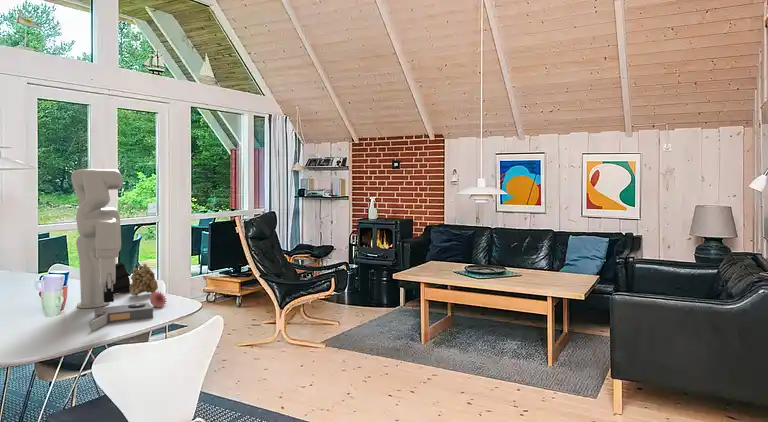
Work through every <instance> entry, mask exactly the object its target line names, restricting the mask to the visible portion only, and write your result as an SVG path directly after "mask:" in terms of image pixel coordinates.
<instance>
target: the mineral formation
mask: <svg viewBox="0 0 768 422" xmlns="http://www.w3.org/2000/svg"><path fill="white" fill-rule="evenodd" d="M155 277H156V276H155V273H154V271H152V269H150V267H149V266H148V265H147V264H146V263H144V264H143V265H138V266H137V267H134V268H133V269H132V274H131V277H130V280H132V282H131V283H130V288H129V289H130V292H129V295H131V296H134V297H136V296H138V295H139V294H142V293H149V294H153V293H152V292H154V293H155V291H156V292H157V291H158V289H159V285H158V281H157V280H156V279H155Z"/></svg>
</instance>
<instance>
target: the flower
mask: <svg viewBox="0 0 768 422" xmlns="http://www.w3.org/2000/svg"><path fill="white" fill-rule="evenodd" d="M152 293H153V294H152ZM152 293H150V295H149V298H150V299H149V301H150V302H149V304H150V305H151V306H152V307H157V308H162V307H165V305H166V304H167V302H168V300H167V298H166V295H165V294H164V293H162V292H161V291H160V292H159V291H157V290H156V291H155V293H154V292H152Z"/></svg>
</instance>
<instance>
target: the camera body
mask: <svg viewBox="0 0 768 422" xmlns="http://www.w3.org/2000/svg"><path fill="white" fill-rule="evenodd" d="M93 310H94V320H95V319H97V318H99V317H101V316H103V315H104V314H107V315H108V324H111V323H113V324H114V323H119V322H121V323H122V322H128V321H136V320H143V319H152V318H154V308H153V305H152V304H151V303H150V302H148V301H147V302H139V303H137V302H136V303H131V304H121V305H112V306H102V307H96V308H93Z"/></svg>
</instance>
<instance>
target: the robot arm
mask: <svg viewBox="0 0 768 422" xmlns="http://www.w3.org/2000/svg"><path fill="white" fill-rule="evenodd" d="M123 179H124V178H123V176H122V174H121V172H120V171H119V170H118V169H116V168H115V169H114V168H81V169H76V170H74V171H73V172H72V173H71V183H72V184H71V185H72V187H73V189H74V192H75V194H76V196H77V199H78V209H77V210H76V217H75V219H76V220H75V221H76V227H77V232H78V235H79V236H78V237H77V238H76V240H75V245H76V246H75V247H76V249H77V250H76V251H77V255H78V262H79V280H80V281H79V284H80V285H79V286H80V287H79V288H80V302H78V303H76V304H77V305H76V307H77V308H79V309H94V308H102V307H107V306H108V305H109V304H110V303H114V301H115V299H114V298H115V297H114V296H115V294H114V291H113V284H115V277H116V267H115V264H116V258H119V256H120V255H119V254H120V253H119V252H120V251H121V249H122V233H121V232H122V230H121V228H122V227H121V226H122V225H121V216H120V212H119V210H118V209H117V208H115V207H106V206H108V205H109V203H110V201H111V197H110V192H109V190H111V191H112V190H115V191H116V190H117V191H118V190H121V188H122V187H123V184H124V183H123V182H124V180H123Z"/></svg>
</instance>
